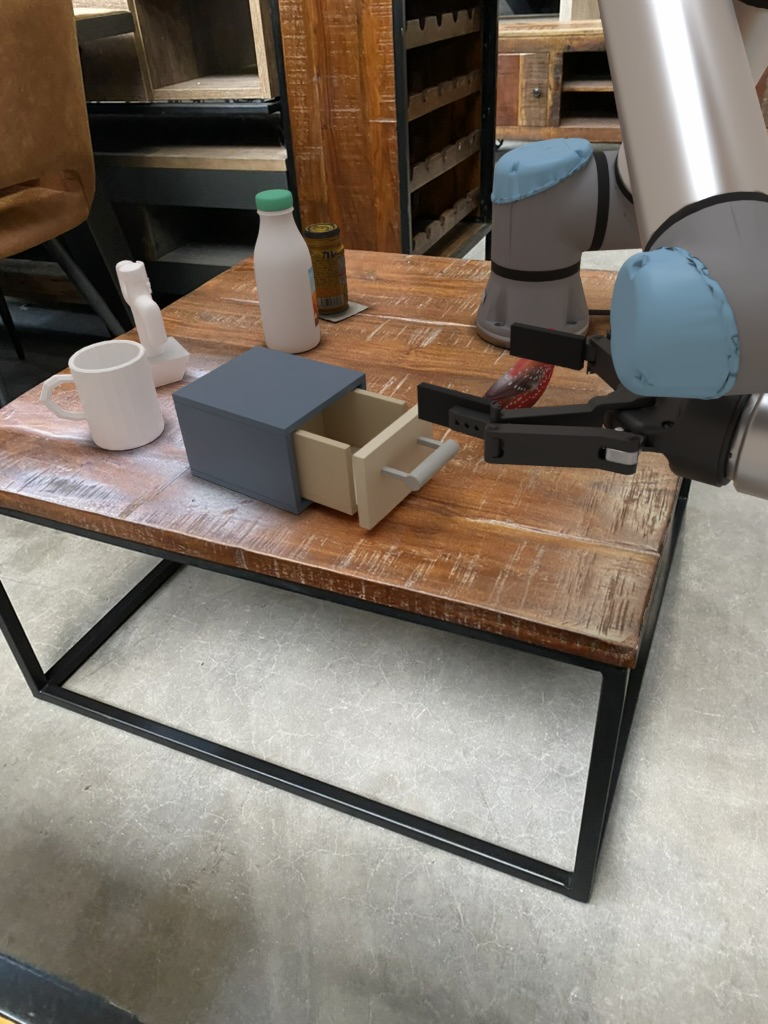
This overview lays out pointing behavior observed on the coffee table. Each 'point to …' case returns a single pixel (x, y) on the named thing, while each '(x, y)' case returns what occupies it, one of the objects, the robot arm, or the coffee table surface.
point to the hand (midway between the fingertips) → (469, 367)
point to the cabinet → (257, 420)
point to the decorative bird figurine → (521, 384)
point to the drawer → (367, 455)
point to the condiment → (329, 272)
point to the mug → (112, 394)
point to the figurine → (151, 325)
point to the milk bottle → (284, 277)
